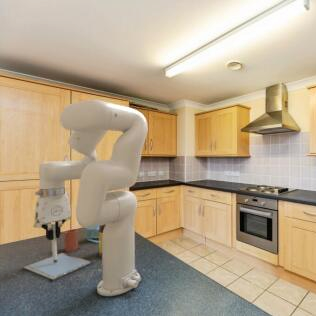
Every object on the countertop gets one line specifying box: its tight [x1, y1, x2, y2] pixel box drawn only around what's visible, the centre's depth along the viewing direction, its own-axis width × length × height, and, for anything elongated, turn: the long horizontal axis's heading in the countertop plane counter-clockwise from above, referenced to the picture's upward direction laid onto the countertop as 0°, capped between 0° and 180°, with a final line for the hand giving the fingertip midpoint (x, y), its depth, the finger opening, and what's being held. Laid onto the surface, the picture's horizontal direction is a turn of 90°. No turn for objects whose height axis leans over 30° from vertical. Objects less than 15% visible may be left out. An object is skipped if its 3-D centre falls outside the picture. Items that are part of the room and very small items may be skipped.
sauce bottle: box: [98, 224, 106, 258], centre depth 93 cm, size 7×6×20 cm
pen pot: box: [64, 228, 79, 253], centre depth 97 cm, size 5×5×9 cm
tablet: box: [22, 252, 92, 282], centre depth 83 cm, size 20×13×1 cm, turn 66°
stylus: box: [51, 223, 58, 263], centre depth 84 cm, size 1×1×15 cm
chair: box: [85, 226, 99, 244], centre depth 108 cm, size 8×8×12 cm
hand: (53, 238), depth 84 cm, fingers closed on stylus, 1 cm apart
